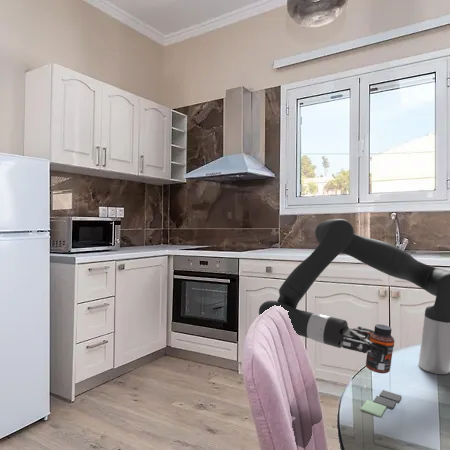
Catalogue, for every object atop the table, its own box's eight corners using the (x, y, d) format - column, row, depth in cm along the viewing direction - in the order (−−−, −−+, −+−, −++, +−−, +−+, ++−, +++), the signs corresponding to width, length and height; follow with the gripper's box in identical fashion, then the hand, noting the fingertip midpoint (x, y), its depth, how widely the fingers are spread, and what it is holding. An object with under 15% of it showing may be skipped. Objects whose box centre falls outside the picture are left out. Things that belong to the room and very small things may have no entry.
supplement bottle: (387, 376, 102) (393, 332, 101) (362, 369, 105) (368, 326, 104) (391, 369, 107) (397, 326, 106) (368, 362, 110) (373, 321, 109)
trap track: (375, 388, 119) (375, 387, 119) (401, 397, 115) (401, 395, 115) (360, 410, 106) (360, 408, 106) (389, 420, 102) (389, 418, 102)
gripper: (319, 322, 107) (386, 340, 98) (337, 311, 119) (398, 326, 110) (315, 350, 108) (382, 370, 99) (334, 336, 120) (395, 353, 111)
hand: (390, 347), depth 104 cm, fingers closed on supplement bottle, 6 cm apart
